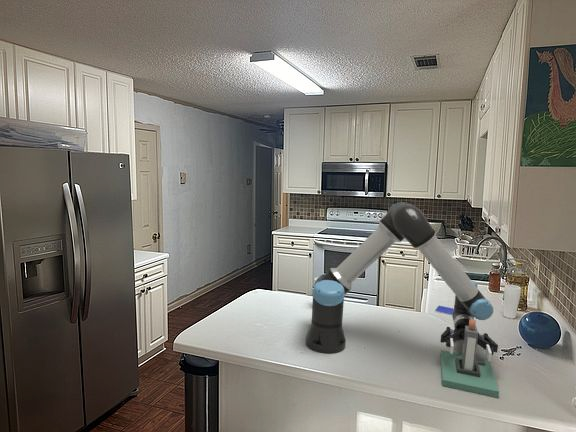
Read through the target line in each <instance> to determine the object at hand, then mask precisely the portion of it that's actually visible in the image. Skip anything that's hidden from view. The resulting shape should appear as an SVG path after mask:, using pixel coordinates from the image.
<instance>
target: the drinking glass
mask: <svg viewBox="0 0 576 432" xmlns="http://www.w3.org/2000/svg"><path fill="white" fill-rule="evenodd" d="M521 292H522V288H521V287H520V286H518V285H516V284H510V283H509V284H505V285H504V289H503V306H502V308H503V311H502V316H503V317H504V318H506V319H510V320H511V319H516V317H517V312H518V308H519V307H518V306H519V303H520V298H521Z"/></svg>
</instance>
